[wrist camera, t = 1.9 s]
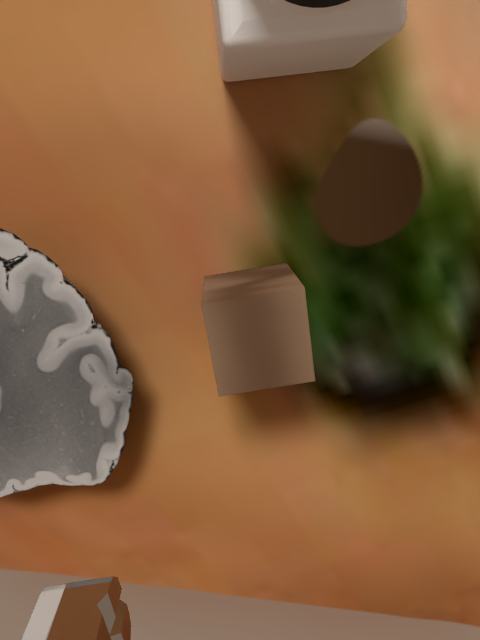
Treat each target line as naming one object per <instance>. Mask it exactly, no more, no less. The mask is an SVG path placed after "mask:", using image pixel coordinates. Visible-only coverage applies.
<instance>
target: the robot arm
mask: <svg viewBox="0 0 480 640" xmlns="http://www.w3.org/2000/svg"><path fill="white" fill-rule="evenodd" d="M121 589H122V588H121V585H120V583H119V580H118V577H107V578H100V579H93V580H86V581H78V582H72V583H68V584H61V585H54V586H47V587H46V588H45V589H44V590H43V591H42V592H41V594H40V596H39V598H38V601H37V603H36V605H35V608H34V610H33V613H32V615H31V617H30V620H29V623H28V625H27V627H26V630H25V632H24V634H23V637H22V639H21V640H130V637H131V636H130V635H131V622H130V615H129V611H128V607H127V604H126V603H124V602H123V601H121V600H120V594H121Z"/></svg>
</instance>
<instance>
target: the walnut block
mask: <svg viewBox="0 0 480 640" xmlns="http://www.w3.org/2000/svg"><path fill="white" fill-rule="evenodd" d="M201 306H202V311H203V316H204V321H205V327H206V332H207V337H208V342H209V348H210V353H211V358H212V363H213V369H214V374H215V379H216V384H217V390H218V395H219V397H220V396H227V395H233V394H239V393H245V392H251V391H257V390H264V389H270V388H276V387H282V386H288V385H294V384H300V383H307V382H313V381H315V375H314V366H313V357H312V348H311V339H310V330H309V321H308V312H307V303H306V294H305V287H304V286H303V285H302V283H301V282H300V281H299V279H298V278H297V277H296V275H295V274H294V273H293V271H292V270H291V269H290V267H289V266H288V265H287V263H283V264H277V265H271V266H265V267H259V268H253V269H246V270H240V271H234V272H228V273H222V274H216V275H210V276H204V285H203V294H202V303H201Z"/></svg>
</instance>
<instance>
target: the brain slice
mask: <svg viewBox="0 0 480 640" xmlns="http://www.w3.org/2000/svg"><path fill="white" fill-rule="evenodd" d="M133 383H134V381H133V378H132V375H131V372H129V371H128V370H127V369H126V368H123V367H120V364H119V358H118V355H117V353H116V351H115V348H114V346H113V344H112V341H111V338H110V336H109V334H108V332H107V331H106V330H104V329H103V328H102V326H101V325H100V324H99V323H95V321H94V319H93V312H92V310H91V308H90V306H89V304H88V302H87V300H86V299H85V298H84V297H83V296H82V295H81V293H80V292H79V291H78V290H77V289H76V288H75V286H73V285H72V284H71V283H70V282H69V281H68V280H67V279H66V278H65V277H64V276H63V275H62V272H61V269H60V268H59V267H58V266H57V265H56V264H55V263H54V262H53V261H52V260H51V259H50V258H49V257H47V256H46V255H44V254H43V253H41V252H39V251H38V250H36V249H32V248H29V247H28V246H27V245H26V244H25V243H24V241H23V240H21V239H20V238H19V237H17V236H16V235H14V234H13V233H10V232H8V231H5V230H3V229H0V497H3V496H7V495H10V494H12V493H15V492H21V491H25V490H29V489H33V488H35V487H37V486H40V485H48V484H58V485H66V486H80V485H90V486H92V485H96V484H99V483H102V482H104V481H105V480H106V479H108V477H109V475H110V474H111V472H112V470H113V469H114V467H115V466H116V465H117V463H118V460H119V458H120V456H121V453H122V451H123V448H124V445H125V440H126V434H125V432H126V429H127V425H128V421H129V416H130V411H131V405H132V398H133V395H132V392H131V391H132V388H133Z"/></svg>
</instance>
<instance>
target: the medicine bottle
mask: <svg viewBox="0 0 480 640" xmlns="http://www.w3.org/2000/svg"><path fill="white" fill-rule="evenodd" d="M213 8H214V17H215V26H216V35H217V44H218V53H219V62H220V71H221V76H222V79H223V80H224V81H226V82H234V81H242V80H251V79H259V78H268V77H277V76H285V75H294V74H303V73H311V72H320V71H329V70H337V69H346V68H351V67H354V66H355V65H356V64H358V63H359V62H360V61H361V60H363V59H364V58H365V57H367V56H368V55H369V54H371V53H372V52H373V51H375V50H376V49H377V48H379V47H380V46H381V45H383V44H384V43H385V42H386V41H388V40H389V39H390V38H392V37H393V36H394V35H396V34H397V33H398V32H400V31H401V30H402V28H403V27H404V26H405V23H406V0H213Z"/></svg>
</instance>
